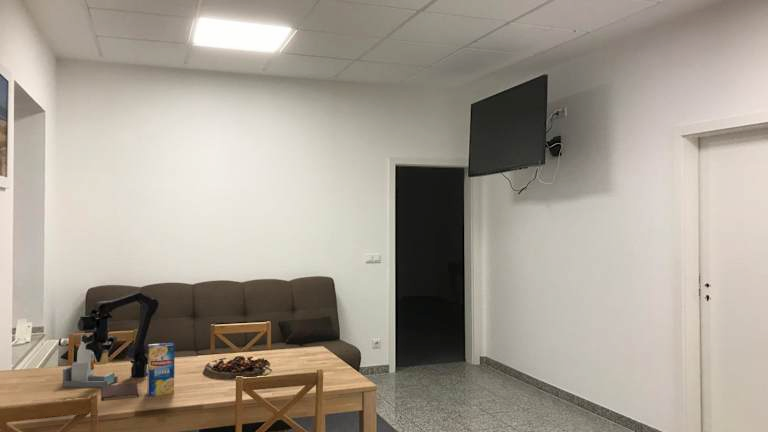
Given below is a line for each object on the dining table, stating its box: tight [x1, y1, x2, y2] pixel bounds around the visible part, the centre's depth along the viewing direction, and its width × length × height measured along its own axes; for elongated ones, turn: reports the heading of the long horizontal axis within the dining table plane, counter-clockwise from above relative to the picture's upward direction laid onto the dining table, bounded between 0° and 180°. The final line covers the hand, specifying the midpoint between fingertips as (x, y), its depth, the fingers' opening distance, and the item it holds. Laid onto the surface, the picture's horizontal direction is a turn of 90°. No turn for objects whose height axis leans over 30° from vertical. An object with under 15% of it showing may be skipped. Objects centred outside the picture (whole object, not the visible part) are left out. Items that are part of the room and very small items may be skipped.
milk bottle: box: [76, 334, 95, 376], centre depth 302 cm, size 8×8×20 cm
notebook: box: [101, 382, 140, 401], centre depth 272 cm, size 15×20×2 cm
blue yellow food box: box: [146, 342, 176, 397], centre depth 271 cm, size 7×11×22 cm, turn 117°
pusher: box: [103, 371, 115, 385], centre depth 285 cm, size 1×8×4 cm, turn 178°
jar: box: [94, 349, 109, 366], centre depth 286 cm, size 6×6×6 cm
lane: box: [62, 365, 119, 388], centre depth 286 cm, size 21×10×8 cm, turn 88°
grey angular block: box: [71, 362, 88, 381], centre depth 286 cm, size 4×7×10 cm, turn 111°
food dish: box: [201, 355, 271, 380], centre depth 312 cm, size 35×33×8 cm
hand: (101, 360), depth 286 cm, fingers closed on jar, 5 cm apart
